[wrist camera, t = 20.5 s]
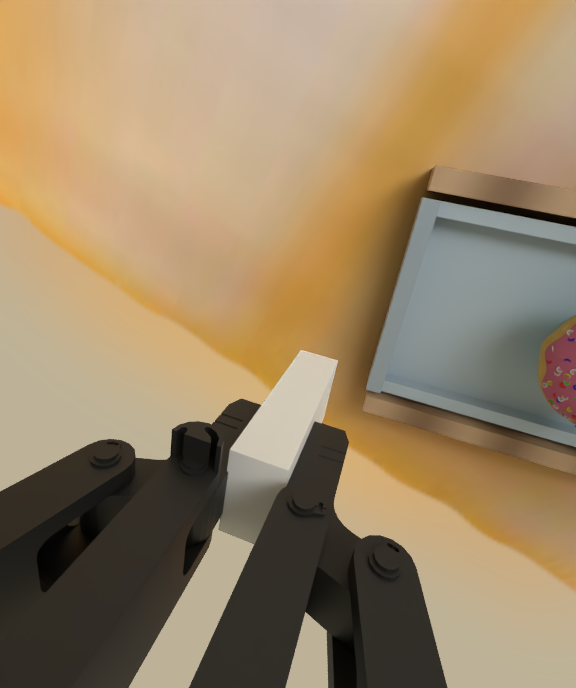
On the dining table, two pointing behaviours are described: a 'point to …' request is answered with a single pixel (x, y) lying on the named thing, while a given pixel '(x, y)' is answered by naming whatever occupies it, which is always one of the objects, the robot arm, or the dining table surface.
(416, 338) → the tray
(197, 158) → the dining table surface
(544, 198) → the dock
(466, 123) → the dining table surface
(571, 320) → the cupcake
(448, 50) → the dining table surface
